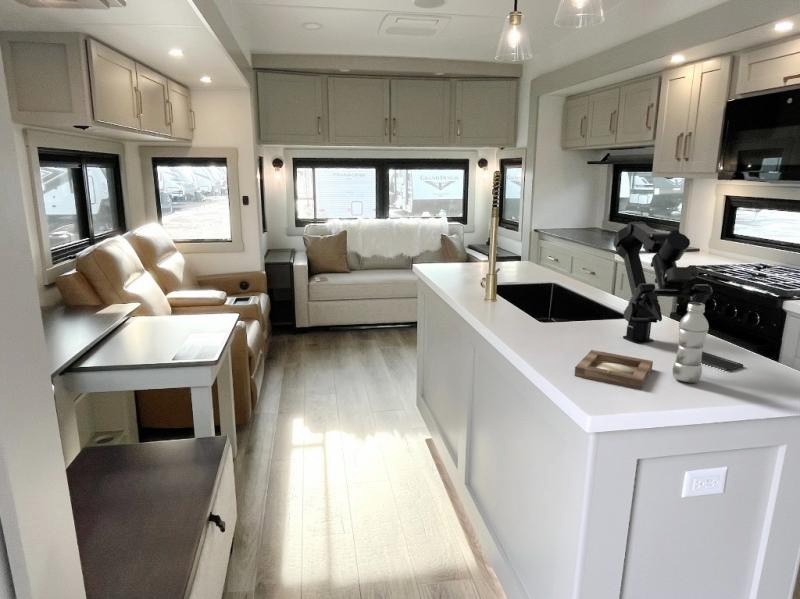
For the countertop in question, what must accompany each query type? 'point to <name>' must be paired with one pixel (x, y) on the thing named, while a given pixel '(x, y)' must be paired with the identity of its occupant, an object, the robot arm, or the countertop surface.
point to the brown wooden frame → (614, 369)
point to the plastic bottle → (691, 344)
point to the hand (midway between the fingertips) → (678, 320)
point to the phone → (720, 362)
